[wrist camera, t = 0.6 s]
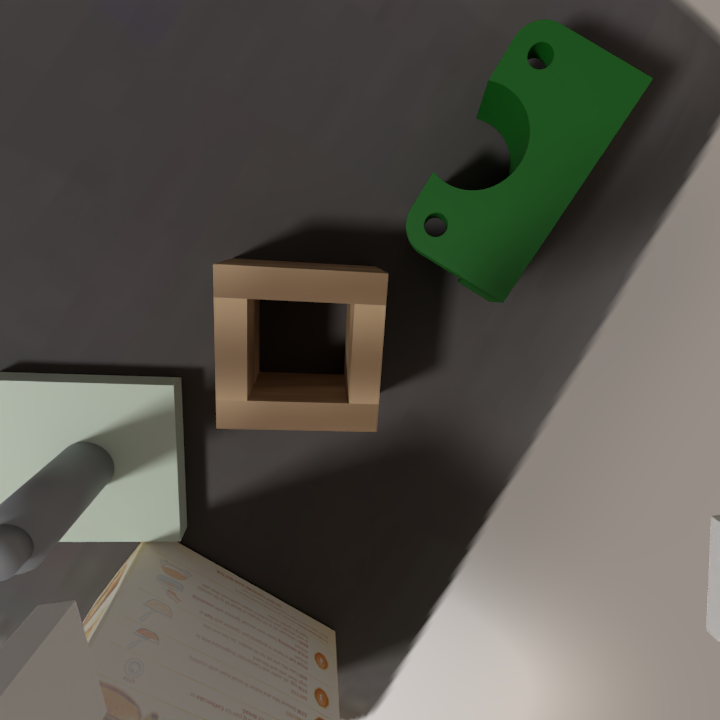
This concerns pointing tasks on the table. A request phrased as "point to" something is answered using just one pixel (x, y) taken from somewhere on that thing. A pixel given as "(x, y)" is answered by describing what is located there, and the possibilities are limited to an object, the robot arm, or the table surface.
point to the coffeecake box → (205, 645)
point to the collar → (297, 390)
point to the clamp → (528, 156)
